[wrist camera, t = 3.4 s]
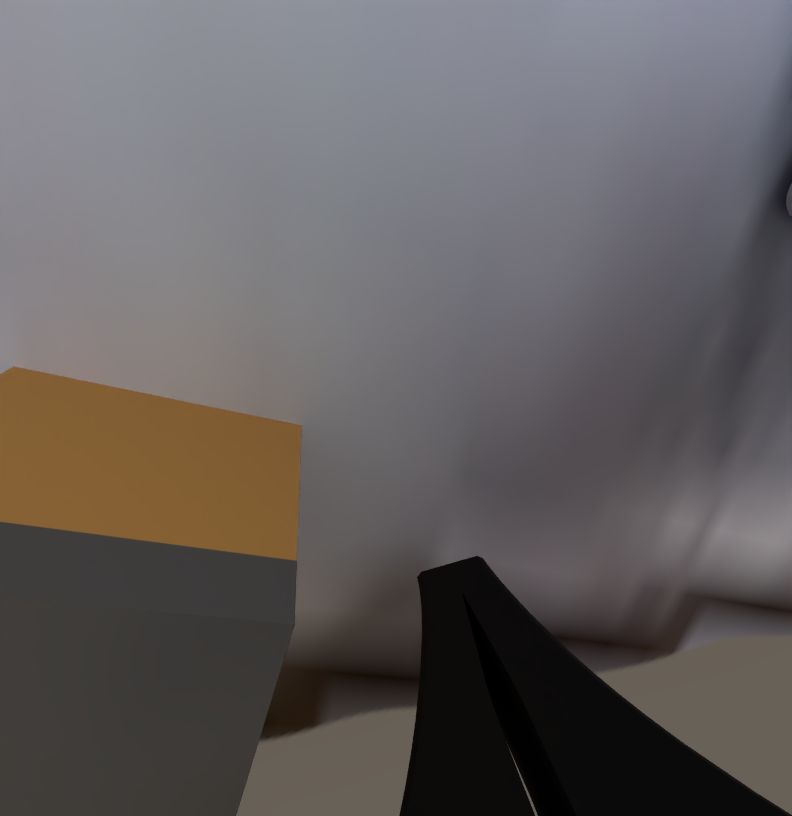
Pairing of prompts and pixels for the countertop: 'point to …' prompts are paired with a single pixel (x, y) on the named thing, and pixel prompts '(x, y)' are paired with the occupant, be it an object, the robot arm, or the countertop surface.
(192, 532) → the orange-topped grey cube
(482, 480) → the countertop surface
